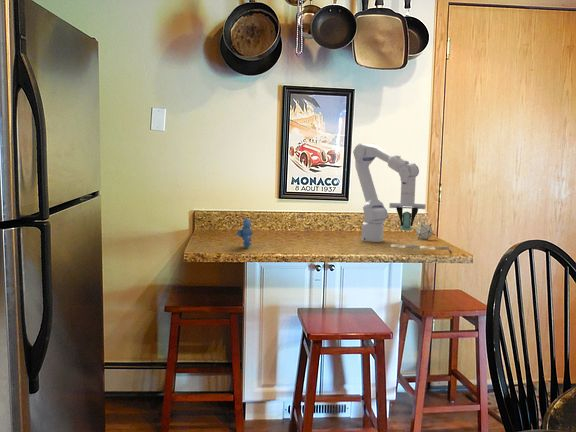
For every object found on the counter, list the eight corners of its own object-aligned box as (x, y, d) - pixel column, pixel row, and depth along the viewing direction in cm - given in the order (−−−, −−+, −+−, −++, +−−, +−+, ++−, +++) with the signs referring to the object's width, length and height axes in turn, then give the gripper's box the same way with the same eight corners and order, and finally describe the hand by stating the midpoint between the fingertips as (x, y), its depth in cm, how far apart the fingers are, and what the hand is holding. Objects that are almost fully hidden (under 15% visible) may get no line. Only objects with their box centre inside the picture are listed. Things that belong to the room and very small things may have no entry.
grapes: (236, 244, 224) (236, 216, 223) (252, 244, 225) (252, 216, 223) (236, 250, 213) (236, 220, 211) (253, 250, 213) (253, 220, 212)
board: (390, 250, 218) (390, 247, 218) (390, 245, 228) (390, 243, 228) (451, 253, 214) (451, 250, 214) (448, 248, 224) (448, 246, 224)
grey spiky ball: (423, 249, 242) (416, 233, 236) (414, 239, 249) (408, 224, 243) (440, 239, 241) (434, 223, 236) (431, 230, 249) (425, 214, 243)
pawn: (400, 230, 219) (401, 211, 218) (400, 228, 224) (401, 210, 223) (411, 230, 218) (412, 212, 217) (411, 229, 223) (412, 211, 222)
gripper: (389, 193, 217) (388, 226, 218) (426, 194, 214) (424, 227, 215) (390, 192, 223) (388, 224, 225) (425, 193, 221) (424, 225, 222)
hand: (406, 225), depth 221 cm, fingers closed on pawn, 3 cm apart
